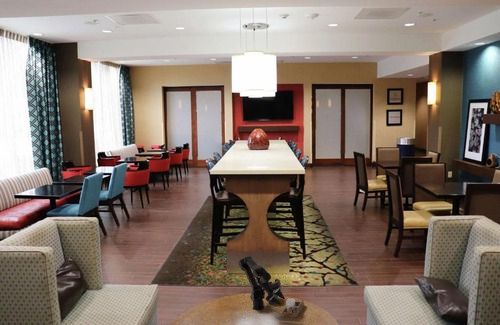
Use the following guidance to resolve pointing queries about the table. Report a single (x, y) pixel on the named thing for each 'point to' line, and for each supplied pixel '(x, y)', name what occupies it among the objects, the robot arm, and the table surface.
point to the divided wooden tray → (298, 308)
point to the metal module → (291, 305)
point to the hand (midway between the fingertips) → (282, 301)
